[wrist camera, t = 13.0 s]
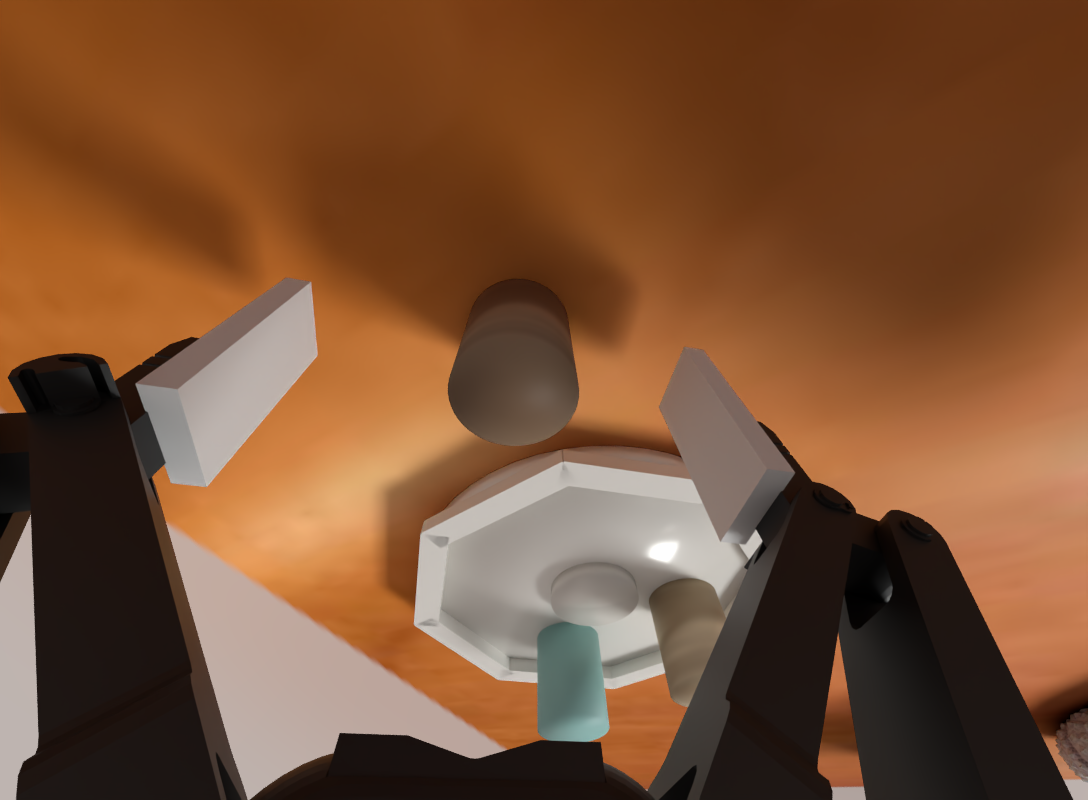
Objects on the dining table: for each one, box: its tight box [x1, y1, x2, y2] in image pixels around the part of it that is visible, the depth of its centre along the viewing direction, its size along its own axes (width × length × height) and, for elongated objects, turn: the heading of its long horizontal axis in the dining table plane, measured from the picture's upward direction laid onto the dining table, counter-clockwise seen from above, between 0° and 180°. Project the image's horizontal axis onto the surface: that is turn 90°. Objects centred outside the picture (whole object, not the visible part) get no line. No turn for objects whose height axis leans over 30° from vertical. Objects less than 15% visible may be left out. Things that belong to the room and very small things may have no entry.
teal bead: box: [537, 622, 609, 742], centre depth 26 cm, size 4×4×5 cm
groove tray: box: [414, 446, 762, 689], centre depth 26 cm, size 20×20×2 cm
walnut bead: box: [448, 279, 579, 446], centre depth 15 cm, size 4×4×5 cm
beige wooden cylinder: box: [649, 578, 726, 707], centre depth 24 cm, size 4×4×5 cm
